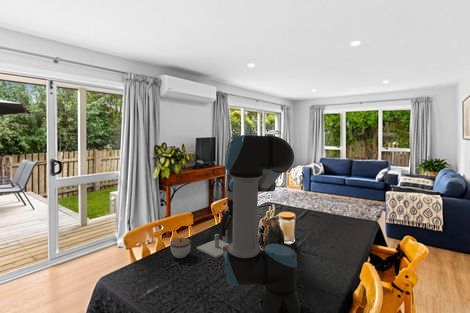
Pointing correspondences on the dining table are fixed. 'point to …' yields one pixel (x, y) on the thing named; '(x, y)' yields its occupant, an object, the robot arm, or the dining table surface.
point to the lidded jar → (180, 247)
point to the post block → (213, 247)
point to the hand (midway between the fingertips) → (233, 238)
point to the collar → (225, 249)
